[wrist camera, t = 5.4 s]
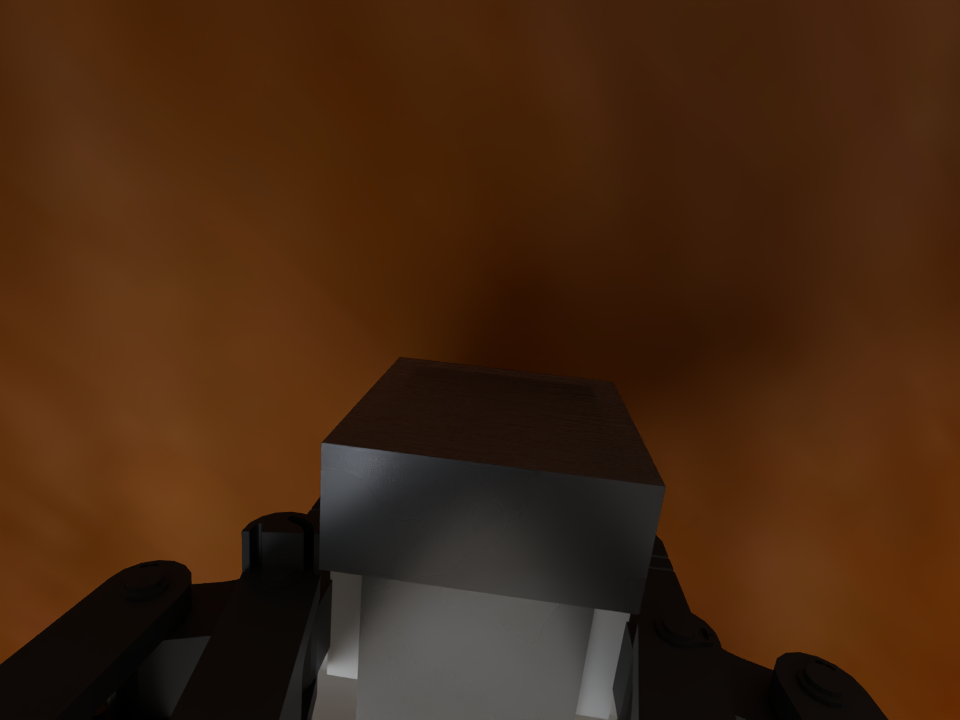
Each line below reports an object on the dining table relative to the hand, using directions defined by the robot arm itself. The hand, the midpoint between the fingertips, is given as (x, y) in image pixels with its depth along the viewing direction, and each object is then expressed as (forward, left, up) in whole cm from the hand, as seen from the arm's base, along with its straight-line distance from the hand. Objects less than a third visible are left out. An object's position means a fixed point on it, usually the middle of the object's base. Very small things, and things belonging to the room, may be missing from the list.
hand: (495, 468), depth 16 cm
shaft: (+8, 0, +3) cm, 9 cm away
